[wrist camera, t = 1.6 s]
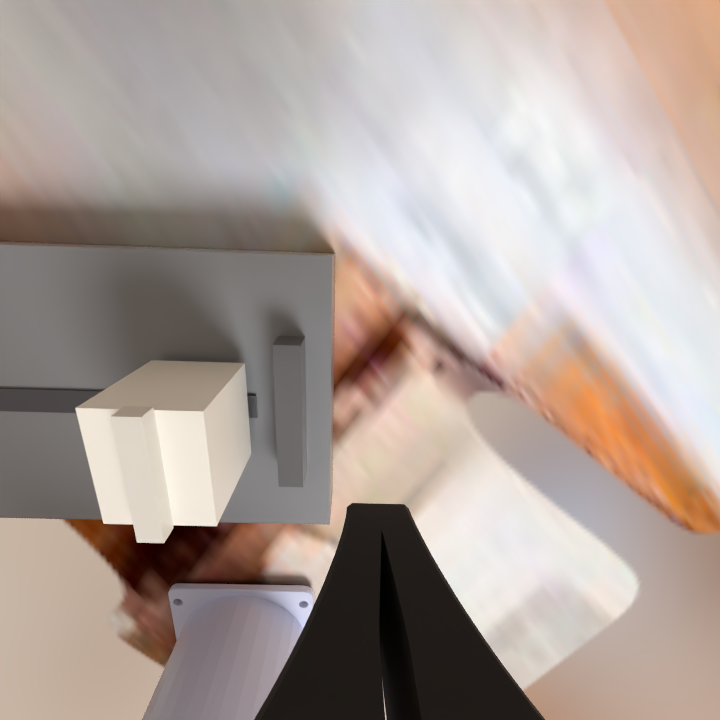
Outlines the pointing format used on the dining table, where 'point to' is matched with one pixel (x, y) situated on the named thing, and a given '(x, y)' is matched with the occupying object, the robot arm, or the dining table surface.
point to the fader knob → (167, 445)
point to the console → (166, 343)
